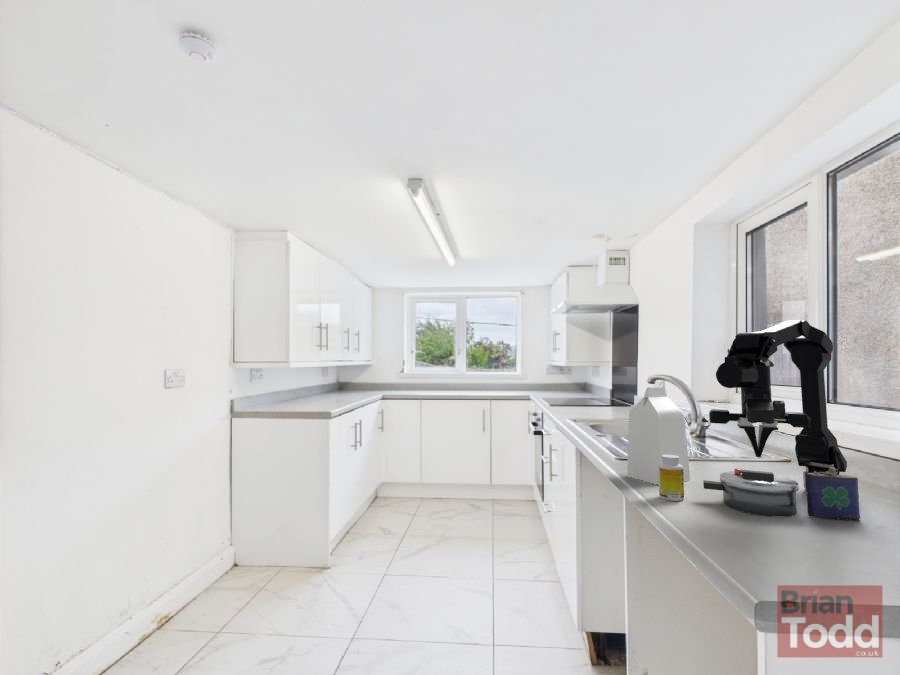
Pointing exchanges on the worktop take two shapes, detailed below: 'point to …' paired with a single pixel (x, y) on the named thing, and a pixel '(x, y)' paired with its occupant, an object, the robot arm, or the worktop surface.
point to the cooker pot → (755, 500)
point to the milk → (655, 435)
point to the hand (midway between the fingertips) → (758, 456)
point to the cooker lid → (758, 481)
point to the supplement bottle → (671, 478)
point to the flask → (832, 495)
